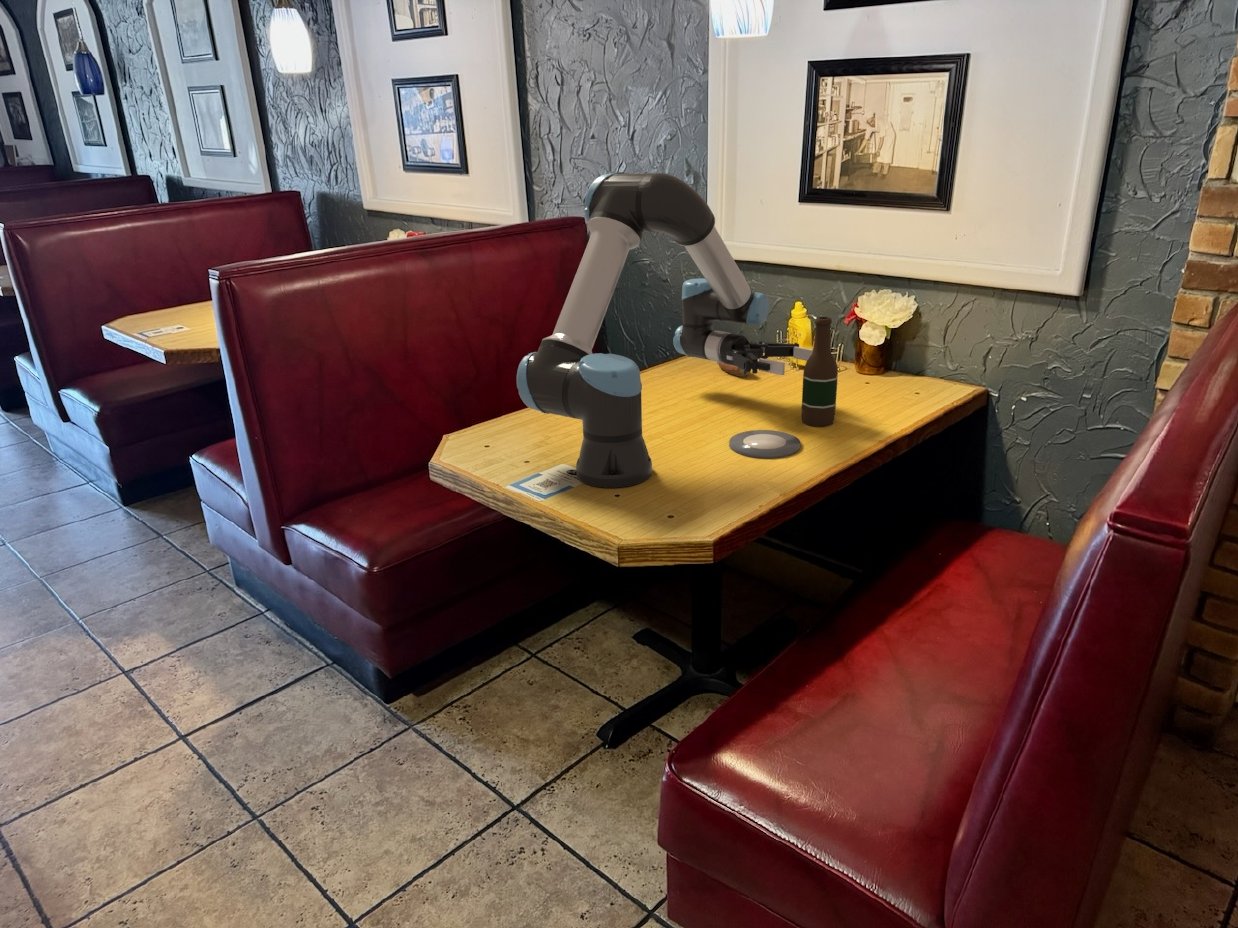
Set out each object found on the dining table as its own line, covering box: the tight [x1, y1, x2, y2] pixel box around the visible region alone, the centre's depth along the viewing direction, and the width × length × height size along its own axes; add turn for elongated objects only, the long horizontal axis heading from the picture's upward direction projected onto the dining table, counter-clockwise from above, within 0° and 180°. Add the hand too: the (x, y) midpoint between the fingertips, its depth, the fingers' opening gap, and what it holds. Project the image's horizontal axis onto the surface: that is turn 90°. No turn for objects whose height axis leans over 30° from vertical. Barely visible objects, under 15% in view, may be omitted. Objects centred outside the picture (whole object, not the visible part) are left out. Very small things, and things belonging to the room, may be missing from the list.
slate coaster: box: [728, 429, 801, 459], centre depth 180 cm, size 15×15×1 cm
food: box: [717, 362, 752, 378], centre depth 233 cm, size 14×6×5 cm, turn 22°
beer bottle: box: [800, 316, 839, 428], centre depth 188 cm, size 8×8×24 cm
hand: (801, 362), depth 192 cm, fingers open, 13 cm apart
